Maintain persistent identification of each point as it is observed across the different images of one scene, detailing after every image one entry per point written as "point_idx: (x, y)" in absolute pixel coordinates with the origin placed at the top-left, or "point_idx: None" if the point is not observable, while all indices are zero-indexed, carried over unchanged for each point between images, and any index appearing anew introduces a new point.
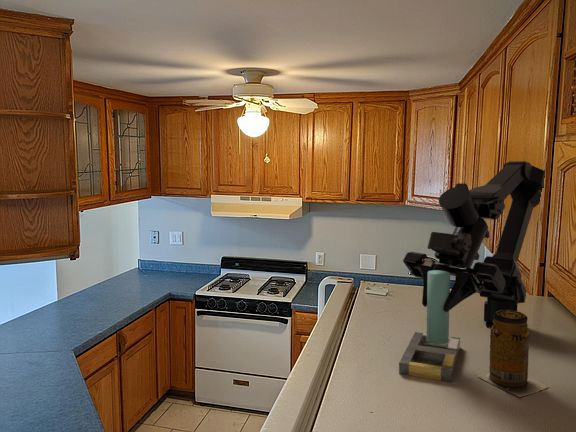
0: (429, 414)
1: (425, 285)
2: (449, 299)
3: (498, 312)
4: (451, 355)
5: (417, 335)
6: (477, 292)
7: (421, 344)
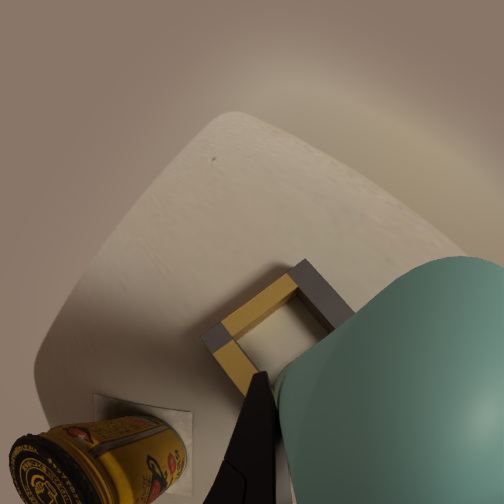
0: (154, 221)
1: None
2: (251, 415)
3: (68, 489)
4: None
5: None
6: None
7: None
